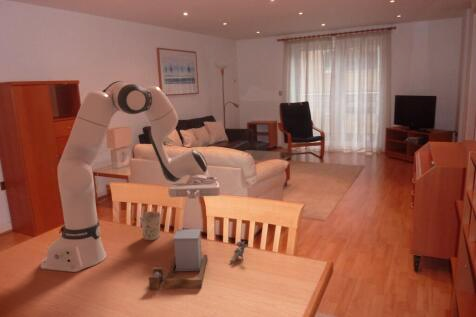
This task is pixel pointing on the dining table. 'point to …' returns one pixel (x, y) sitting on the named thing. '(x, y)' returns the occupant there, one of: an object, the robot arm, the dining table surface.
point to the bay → (176, 282)
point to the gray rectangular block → (188, 249)
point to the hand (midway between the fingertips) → (191, 196)
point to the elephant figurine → (239, 251)
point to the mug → (150, 225)
